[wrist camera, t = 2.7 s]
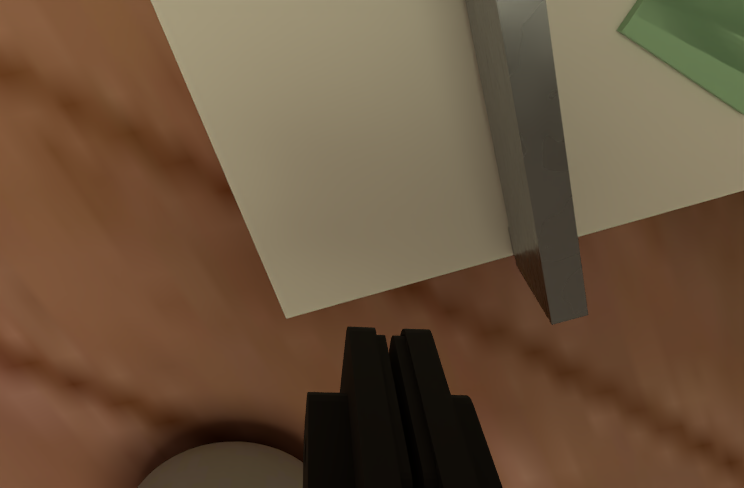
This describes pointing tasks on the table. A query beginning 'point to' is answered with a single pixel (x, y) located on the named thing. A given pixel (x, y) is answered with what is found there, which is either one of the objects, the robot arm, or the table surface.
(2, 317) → the table surface
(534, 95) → the grey rectangular bar
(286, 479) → the teacup
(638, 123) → the dial board
